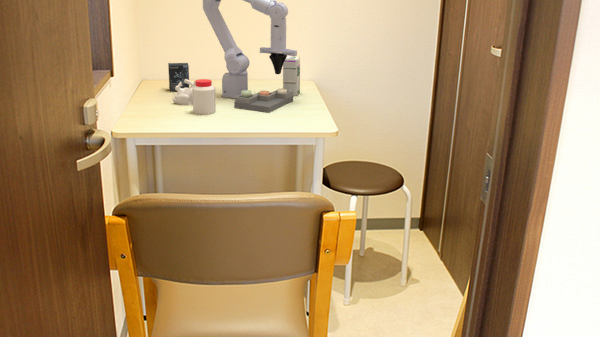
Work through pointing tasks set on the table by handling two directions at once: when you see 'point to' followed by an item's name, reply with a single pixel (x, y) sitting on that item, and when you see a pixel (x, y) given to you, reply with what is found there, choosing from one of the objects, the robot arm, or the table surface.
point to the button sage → (246, 93)
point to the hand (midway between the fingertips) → (278, 73)
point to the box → (178, 75)
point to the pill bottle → (204, 97)
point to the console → (264, 101)
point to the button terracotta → (264, 93)
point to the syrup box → (291, 74)
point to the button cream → (281, 90)
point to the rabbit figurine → (184, 94)
